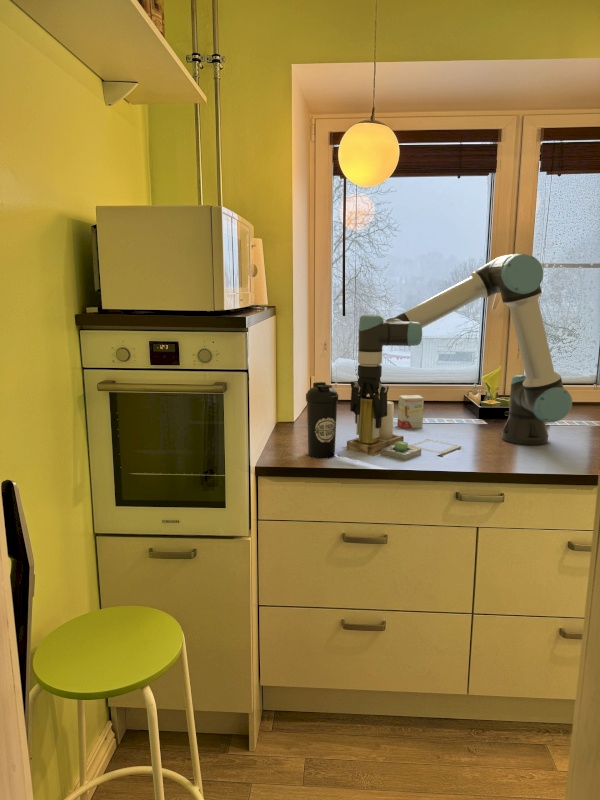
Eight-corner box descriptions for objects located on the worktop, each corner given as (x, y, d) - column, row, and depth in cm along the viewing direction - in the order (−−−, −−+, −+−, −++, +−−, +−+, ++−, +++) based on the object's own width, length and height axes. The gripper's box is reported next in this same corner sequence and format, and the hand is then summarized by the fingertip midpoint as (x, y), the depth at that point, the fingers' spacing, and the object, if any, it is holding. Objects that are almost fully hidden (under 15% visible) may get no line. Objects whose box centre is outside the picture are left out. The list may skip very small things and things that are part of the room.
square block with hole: (421, 458, 185) (421, 449, 184) (404, 464, 178) (404, 454, 178) (397, 452, 191) (397, 443, 190) (380, 458, 185) (380, 448, 184)
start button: (410, 449, 184) (410, 443, 184) (402, 451, 181) (403, 445, 181) (399, 446, 187) (399, 440, 187) (392, 449, 184) (392, 443, 184)
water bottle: (311, 460, 182) (311, 387, 177) (301, 451, 191) (302, 381, 187) (341, 458, 185) (343, 385, 180) (331, 449, 194) (332, 380, 190)
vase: (375, 438, 193) (376, 395, 191) (378, 443, 187) (380, 399, 185) (356, 438, 193) (358, 396, 190) (359, 443, 187) (360, 399, 184)
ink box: (401, 428, 221) (402, 398, 219) (397, 425, 226) (398, 395, 224) (423, 428, 223) (424, 397, 220) (418, 424, 227) (419, 394, 225)
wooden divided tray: (408, 447, 196) (408, 437, 195) (373, 459, 183) (373, 448, 182) (377, 440, 205) (377, 430, 204) (341, 451, 192) (341, 440, 191)
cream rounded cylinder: (395, 443, 197) (397, 402, 194) (385, 447, 193) (386, 405, 190) (381, 440, 201) (382, 399, 198) (370, 443, 197) (371, 402, 194)
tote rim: (460, 449, 194) (461, 446, 194) (441, 457, 186) (441, 453, 186) (427, 442, 203) (427, 438, 203) (407, 448, 195) (407, 445, 195)
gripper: (401, 366, 182) (398, 439, 186) (354, 360, 194) (352, 428, 199) (386, 368, 176) (384, 443, 181) (339, 362, 189) (338, 432, 194)
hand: (367, 435), depth 190 cm, fingers closed on vase, 6 cm apart
